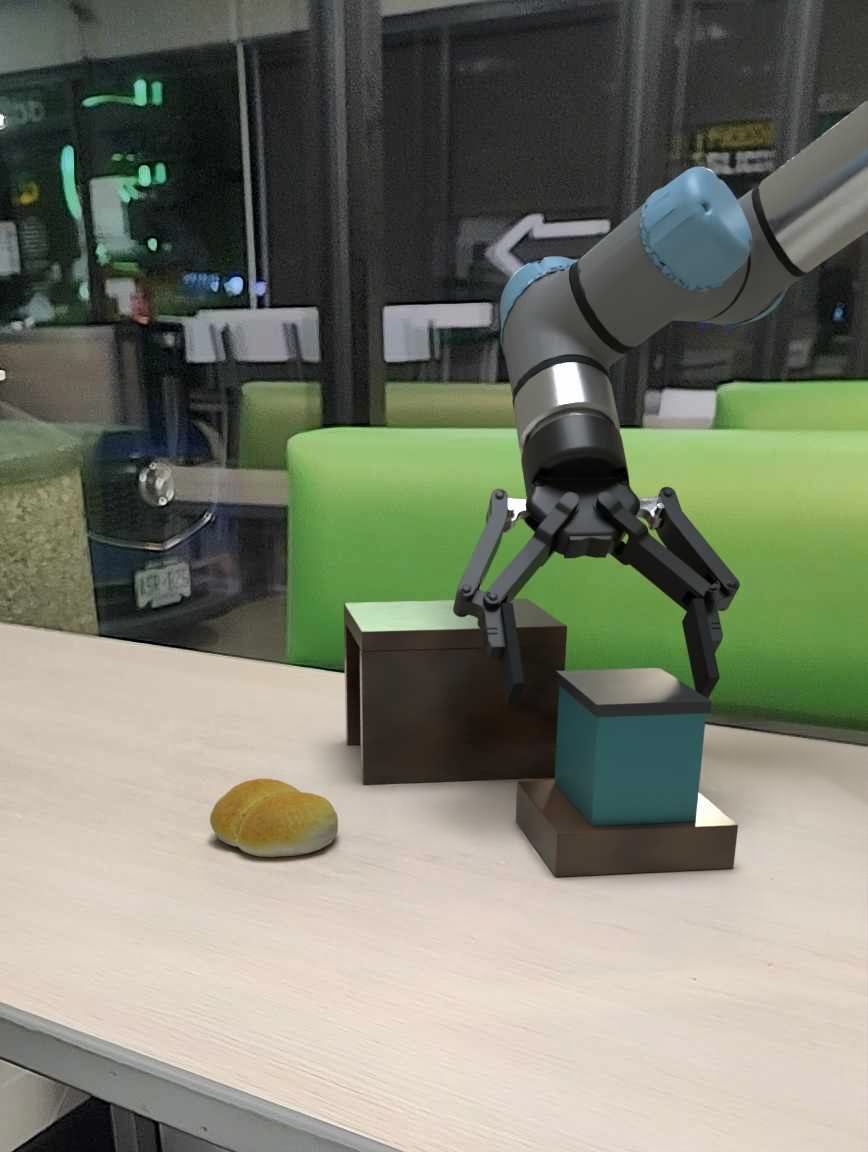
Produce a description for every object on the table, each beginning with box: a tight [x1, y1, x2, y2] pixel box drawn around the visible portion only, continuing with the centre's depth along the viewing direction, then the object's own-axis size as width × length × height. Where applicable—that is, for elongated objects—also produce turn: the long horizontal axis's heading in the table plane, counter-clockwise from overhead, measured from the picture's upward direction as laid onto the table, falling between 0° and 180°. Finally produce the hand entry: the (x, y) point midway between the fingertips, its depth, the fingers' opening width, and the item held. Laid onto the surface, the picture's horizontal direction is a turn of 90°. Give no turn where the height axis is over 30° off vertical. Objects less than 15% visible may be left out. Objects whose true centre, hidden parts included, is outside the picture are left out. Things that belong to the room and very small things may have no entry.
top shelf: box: [343, 598, 568, 785], centre depth 110 cm, size 16×14×12 cm
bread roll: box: [209, 778, 339, 858], centre depth 92 cm, size 8×9×4 cm
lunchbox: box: [554, 667, 713, 826], centre depth 89 cm, size 7×10×8 cm
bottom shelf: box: [515, 779, 739, 878], centre depth 91 cm, size 12×12×3 cm
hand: (612, 692), depth 91 cm, fingers open, 13 cm apart
